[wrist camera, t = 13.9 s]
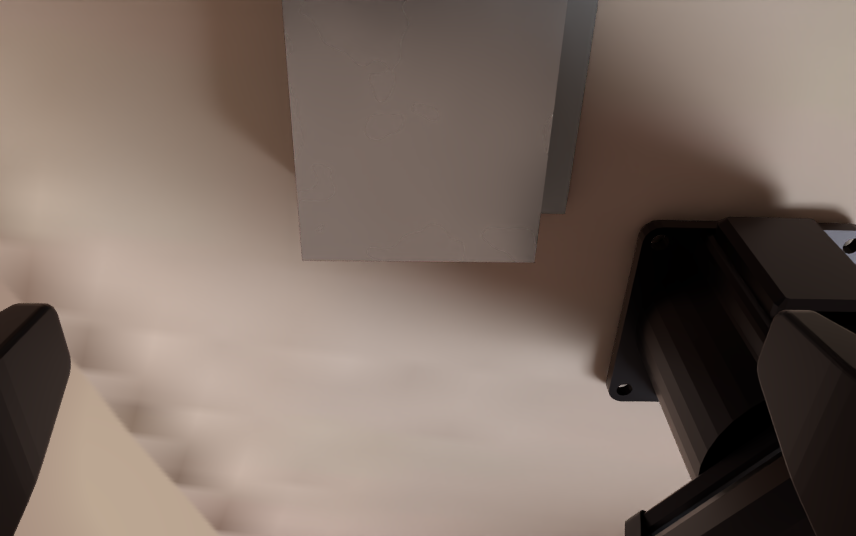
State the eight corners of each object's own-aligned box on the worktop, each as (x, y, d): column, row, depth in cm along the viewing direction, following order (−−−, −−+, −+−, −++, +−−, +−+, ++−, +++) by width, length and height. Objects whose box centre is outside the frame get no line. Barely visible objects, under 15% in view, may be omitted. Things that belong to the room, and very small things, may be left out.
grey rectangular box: (518, 202, 20) (534, 262, 18) (315, 200, 20) (302, 260, 17) (548, -79, 16) (574, -54, 14) (296, -86, 16) (276, -62, 14)
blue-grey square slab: (562, 207, 21) (565, 213, 20) (310, 201, 20) (309, 209, 20) (604, -65, 17) (608, -61, 16) (294, -76, 17) (292, -73, 16)
